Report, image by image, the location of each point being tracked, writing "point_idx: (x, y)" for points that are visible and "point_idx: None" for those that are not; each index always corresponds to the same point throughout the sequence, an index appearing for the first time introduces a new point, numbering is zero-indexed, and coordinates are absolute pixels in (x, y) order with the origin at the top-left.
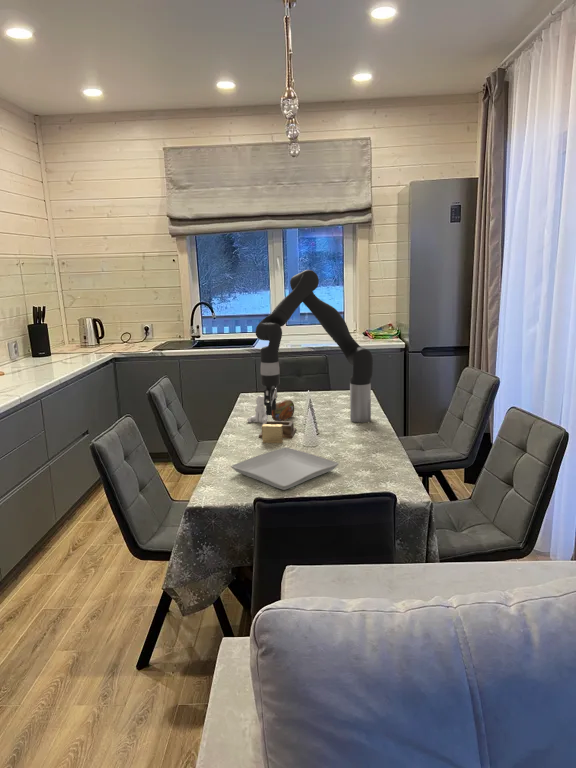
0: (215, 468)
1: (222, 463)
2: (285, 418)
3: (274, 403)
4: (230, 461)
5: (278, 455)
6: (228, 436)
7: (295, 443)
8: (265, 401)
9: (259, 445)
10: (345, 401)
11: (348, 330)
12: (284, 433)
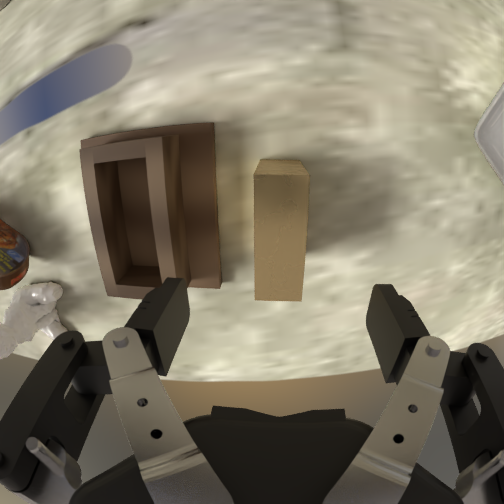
0: (499, 329)
1: (478, 327)
2: (3, 224)
3: (165, 323)
4: (473, 313)
5: (501, 165)
6: (223, 377)
7: (302, 90)
8: (471, 414)
9: (336, 261)
10: None
11: None
12: (179, 170)
